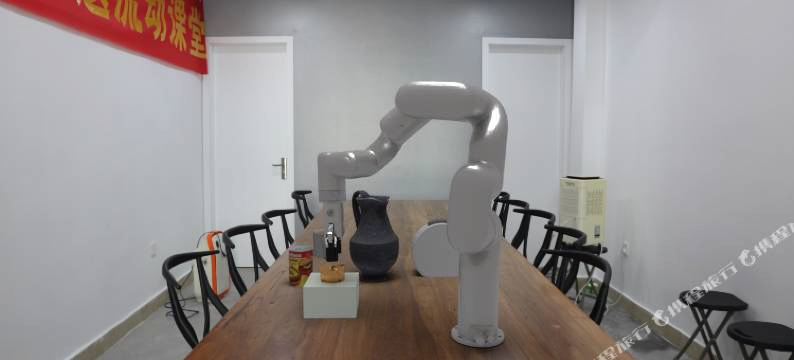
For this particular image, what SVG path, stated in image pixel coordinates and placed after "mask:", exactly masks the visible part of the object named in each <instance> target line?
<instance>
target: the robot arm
mask: <svg viewBox="0 0 794 360" xmlns="http://www.w3.org/2000/svg"><path fill="white" fill-rule="evenodd" d="M394 105H395V106H394V107H393V108H391V109H390V110H389V111H388V112H387V113H386V114H384V115H383V116H382V117H381V119H380V121H379V128H380V130H381V132H380V134H379V136H378V137H377V138H376V139H375V140H374V141H373V142H372V143H371V144H370V145H369V146H367V147H366V148H365V149H364V150H363V149H358V150H346V151H345V150H343V151H322V152H319V153H318V155H317V160H316V162H317V187H318V188H317V191H318V193H317V194H318V203H321V204H322V218H323V219H322V221H323V222H322V223H323V229H324V237H325V238H326V258H325V261H326V263H332V262H337V263H338V261H339V255H340V254H342V239H343V237H344V235H345V232H346V231H345V215H344V214H345V213H344V202H347V193H346V192H347V190H346V187H347V186H346V180H353V179H354V180H355V179H360V178H369V177H372V176H374V175H376V174H377V173H379V172H380V171H381V170H382V169H383V168H384V167H386V166H387V165H389V163H390V162H392V161H393V159H394V158H396V156H397V155H398V153H399V152H400V150H401V149H402V146H403V145H404V144H405V143H406V142H407V141H408V140H409V139H410V138H412V137H413V136H414V135H415V134H417V132H418V131H420V130H421V129H422V128H423V127H425V126H426V125H427V124H429V122H431V121H432V120H437V121H441V120H442V121H450V122H451V121H452V122H460V123H469V124H470V125H471V126H472V127H471V128H472V131H471V135H470V139H469V145H468V157H467V163H466V164H463V165H461V166H460V167H459V168H458V169H457V170H456V171H455V173H454V175H453V176H452V179H451V181H450V182H451V183H450V187H449V198H448V204H447V205H448V207H447V214H446V215H447V217H446V219H447V227H446V231H447V238H448V241H449V243H450V245H451V246H452V247H453V249H455V250H456V251H457V252H459V253H460V255H459V277H457V278H458V282H457V283H458V286H457V287H458V288H457V289H458V292H457V293H458V294H457V324H456V325H455V326H453V327H452V328H451V332H450V333H451V334H450V335H451V338H452V339H453V340H454V341H455V342H457V343H459V344H462V345H465V346H468V347H472V348H473V347H474V348H490V347H496V346H498V345H500V344H502V343H503V342H504V341H505V333H504V331H503V330H502V329H501V328H499V292H500V289H499V288H500V287H499V281H500V258H501V256H500V255H501V247H502V240H503V239H502V237H503V227H502V226H503V225H502V221H501V219H500V216H499V215H498V213H497V212H495V211H494V210H493V209H492V202H493V200H495V199H496V198H498V196H499V195H500V194H501V193H502V190H503V188H504V179H505V178H504V177H505V167H506V166H505V165H506V158H507V144H508V136H509V135H508V134H509V121H508V115H507V112H506V109H505V107H504V106H503V104H502V103H501V101H500V100H499V99H498V98H496V96H494V95H493V94H491V93H490V92H488V91H486V90H484V89H482V88H480V87H477V86H474V85H471V84H469V83H466V82H459V81H429V80H428V81H427V80H426V81H425V80H424V81H423V80H410V81H407V82H405V83H403V84H402V85H401V86H400V87H399V88H398V89H397V91H396V93H395V97H394Z"/></svg>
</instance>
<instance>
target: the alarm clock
mask: <svg viewBox="0 0 794 360" xmlns="http://www.w3.org/2000/svg"><path fill="white" fill-rule="evenodd" d="M446 227H447V218H435V219H430V220H429V221H427V223H425V224H424V225H423V226H421V227H420V228H419V229H418V230H417V232H416V233H415V234H414V236H413V238H412V241H411V247H410V251H411V253H410V254H411V258H412V262H413V264H414V267H415V269H416V270H417V272H419V274H420V275H421V276H422V277H423V278H450V277H451V278H454V277H455V278H458V277H459V255H460V253H459V252H457V251H456V250H455V249H453V247H452V246H451V245H450V243H449V241H448V238H447V231H446Z"/></svg>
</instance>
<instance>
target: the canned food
mask: <svg viewBox="0 0 794 360" xmlns="http://www.w3.org/2000/svg"><path fill="white" fill-rule="evenodd" d="M311 273H314V255H313V246H311V245H296V246H291V247H289V248H288V281H289V282H288V286H290V287H291V288H303V287H304V285H305V283H306V281H307V280H308V278H309V276H310V274H311Z"/></svg>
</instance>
